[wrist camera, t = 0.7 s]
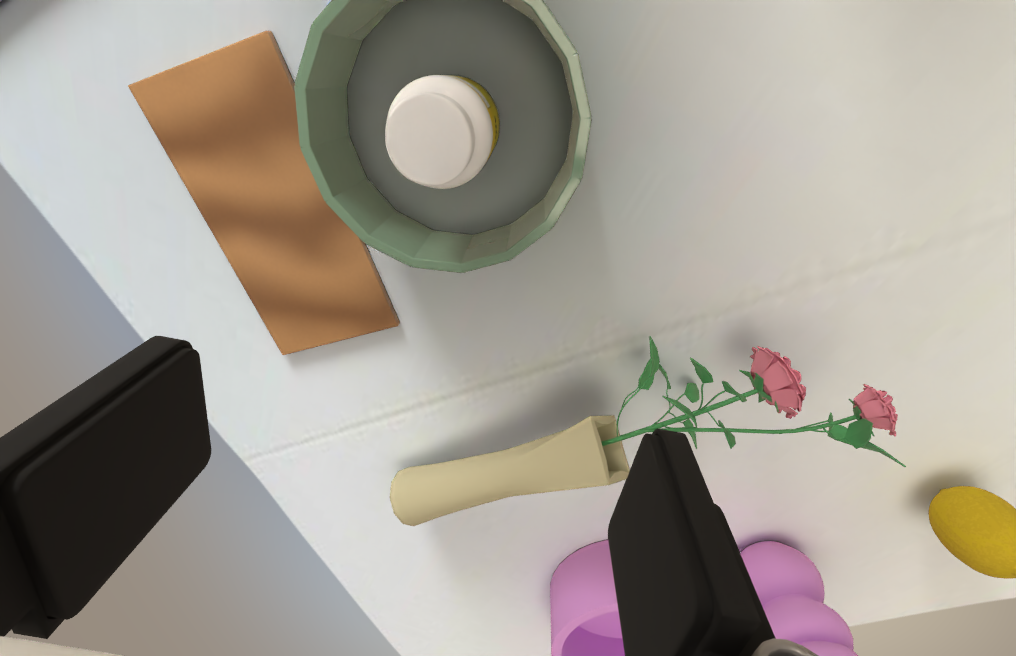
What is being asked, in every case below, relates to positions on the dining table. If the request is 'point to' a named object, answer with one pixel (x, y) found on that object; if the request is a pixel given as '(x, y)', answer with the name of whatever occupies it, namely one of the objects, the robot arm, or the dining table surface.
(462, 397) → the dining table surface
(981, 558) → the lemon
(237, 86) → the wooden board
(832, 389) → the dining table surface
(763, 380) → the flower vase
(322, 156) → the bowl
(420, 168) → the supplement bottle
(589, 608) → the container set
